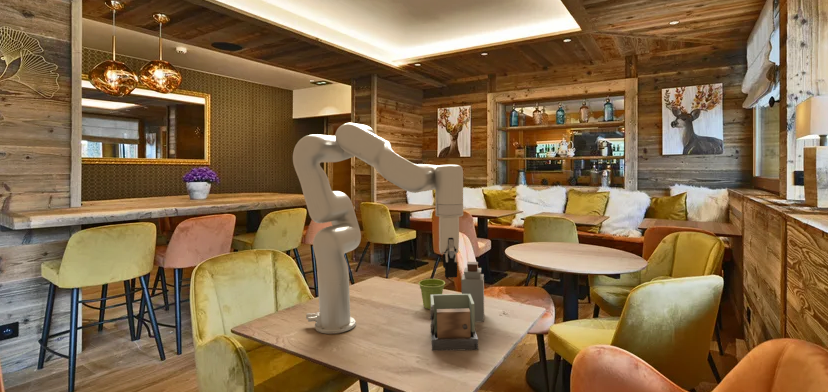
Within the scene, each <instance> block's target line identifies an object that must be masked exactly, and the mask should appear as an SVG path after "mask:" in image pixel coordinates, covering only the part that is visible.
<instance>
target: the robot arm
mask: <svg viewBox="0 0 828 392" xmlns="http://www.w3.org/2000/svg"><path fill="white" fill-rule="evenodd" d="M392 147H393V146H392V144H391V142H390V141H389V140H387V139H384V138H383V137H381V136H378V135H377V134H376V132H375V131H374V129H373V128H372V127H370V126H369V125H366V124H362V123H355V122H346V123H343V124H342V125H340V126H339V127H338V128H337V129H336V131H335V134H334V135H329V134H328V135H327V134H318V133H317V134H309V135H308V134H307V135H305V136H303V137H302V138H300V139H299V140H298V141H297V143H296V144H295V146H294V148H293V153H292V163H293V167H294V171H295V172H296V175H297V178H298V180H299V183H300V187H301V191H302V193H303V194H302V195H303V197H304V200H305V204H306V208H307V211H308V215H309V217H310V219H311V220H312V221H313V223H316V224H325V223H331V225H330V226H326V227H324V228H322V229H319V230H318V231H317V232H316V234H315V235H314V237H313V240H312V248H313V252H314V257H315V262H316V271H317V272H316V273H317V274H316V275H317V287H318V288H317V290H318V310H319V311H317V312H314V313H312V312H306V314H305V318H306V319H305V320H307V322H309V323H310V322H315V323H314V329H315V331H317V332H318V333H321V334H326V335H327V334H328V335H331V334H341V333H342V334H343V333H345V332H349V331H351V330H352V329H354V327H356V325H357V323H356V319H355V318H354V317H352V316H351V300H350V299H351V298H350V295H351V294H350V274H349V272H350V271H349V265H348V262H347V260H346V257H345V254H346V253H349V252H352V251H354V250H356V249H357V248H358V247H359V245H360V244H361V241H362V240H361V239H362V233H361V229H360V225H359V222H358V218H357V216H356V212H355V208H354V205H353V203H352V200H351V198H350V197H349V196H348V195H347V194H346V193H345V192H342V191H340V190H332V187H331V184H330V181H329V180H330V179H329V177H328V176H327V173H326V172H325V170H324V169H323V167H322V166H321V163H338V162H342V161H345V160H348V159H350V158H354V157H355V158H357V159H359V160H361V161H362V162H364V163H365V164H367V165H369V166H371V167H372V168H374V169H375V171H376V172H377V173H378V174H379V175H381V177H382V178H384V179H385V180H386V181H388V182H389V183H391V184H393V185H395V186H397V187H398V188H400V189H402V190H404V191H406V192H409V193H412V194H413V193H414V194H416V193H422V192H427V191H434V190H435V191H434V193H435V195H434V197H435V203H434V204H435V209H434V210H435V217H439V218H438V248H439V249H438V250H439V253H440V254H442V268H444V277H445V278H458V262H457V254H459V245H460V244H459V243H460V217H463V216H464V170H463V169H464V168H463V166H461V165H459V164H440V165H438V164H437V165H436V164H429V163H428V164H427V163H426V164H425V163H424V164H423V163H418V164H417V163H414V162H411V161H409V160H408V159H406V158H404V157H402V156H401V155H399V154H398V153H396V152H395V151H394V150H393V149H392Z"/></svg>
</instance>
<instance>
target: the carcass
mask: <svg viewBox="0 0 828 392" xmlns="http://www.w3.org/2000/svg"><path fill="white" fill-rule="evenodd" d="M431 306H433V310H434V319H433V324H434V333H435V331H437V309H466V308H469V310H470V331H472V332H475V331H476V330H475V329H476V326H475V325H476V322H475V306H474V301H473V299H472V296H471V294H462V293H442V294H434V295H431Z"/></svg>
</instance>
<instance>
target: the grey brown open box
mask: <svg viewBox="0 0 828 392" xmlns="http://www.w3.org/2000/svg"><path fill="white" fill-rule="evenodd" d="M429 311H430V312H429V314H430V315H429V316H430V317H429V318H430V319H429V320H430V338H431V339H430V341H431V344H430V345H431V351H435V352H436V351H469V350H470V351H476V350H477V351H478V350H479V337H478V334H477V331H476V330H475V332H472V331H471V337H470V338H437V331H435V333H434V324H433V319H434V310H433V306H431V309H429Z"/></svg>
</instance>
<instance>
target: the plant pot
mask: <svg viewBox="0 0 828 392" xmlns="http://www.w3.org/2000/svg"><path fill="white" fill-rule="evenodd" d="M418 285H419V289H420V291H421V298H422V304H423V308H424V309H426V310H431V295H434V294H443V292H444V291H443V290H444V288H445V285H446V282H445V280H443V279H438V278H427V279H421V280H420V281H418Z"/></svg>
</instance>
